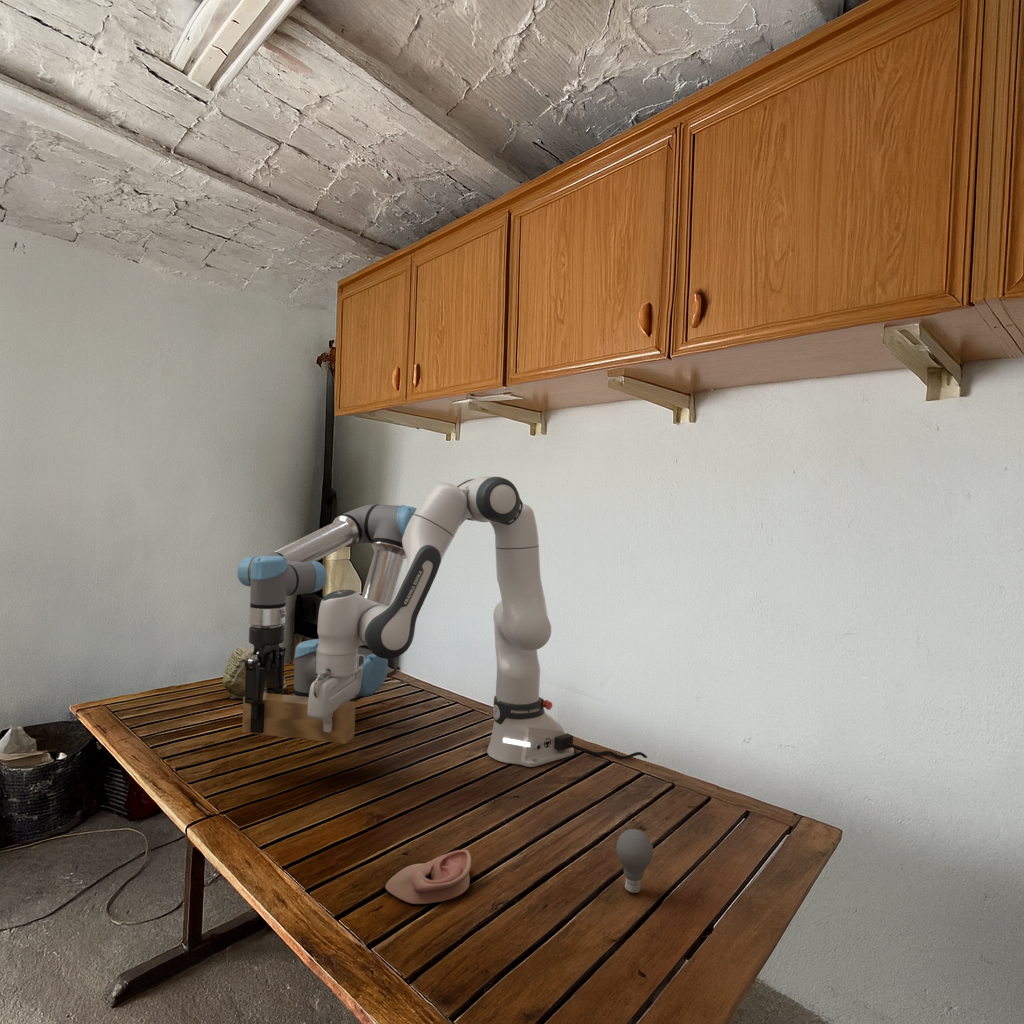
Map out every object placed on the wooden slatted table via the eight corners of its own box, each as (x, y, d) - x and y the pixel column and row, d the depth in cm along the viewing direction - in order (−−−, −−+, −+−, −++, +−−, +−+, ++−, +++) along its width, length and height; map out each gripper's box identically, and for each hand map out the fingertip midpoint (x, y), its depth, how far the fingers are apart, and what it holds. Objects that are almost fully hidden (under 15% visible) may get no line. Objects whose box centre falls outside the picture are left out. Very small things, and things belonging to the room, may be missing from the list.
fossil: (218, 695, 195) (220, 647, 195) (278, 685, 208) (279, 640, 207) (228, 703, 189) (230, 653, 188) (289, 692, 201) (290, 645, 201)
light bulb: (610, 879, 108) (613, 822, 108) (644, 879, 109) (647, 822, 109) (619, 902, 102) (622, 840, 102) (655, 901, 103) (658, 840, 103)
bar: (241, 732, 141) (243, 697, 141) (253, 725, 146) (254, 691, 146) (345, 743, 137) (347, 708, 137) (354, 736, 142) (355, 701, 142)
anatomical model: (378, 873, 101) (404, 836, 112) (377, 898, 101) (403, 858, 112) (458, 887, 98) (477, 848, 109) (457, 912, 98) (476, 870, 109)
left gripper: (261, 634, 133) (257, 744, 133) (301, 619, 151) (298, 716, 151) (228, 631, 134) (224, 740, 135) (272, 616, 152) (268, 713, 152)
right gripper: (329, 678, 129) (327, 745, 129) (367, 654, 149) (365, 712, 150) (300, 675, 130) (298, 742, 130) (342, 652, 150) (340, 710, 151)
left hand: (263, 727), depth 143 cm, fingers closed on bar, 5 cm apart
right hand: (334, 726), depth 140 cm, fingers closed on bar, 5 cm apart
